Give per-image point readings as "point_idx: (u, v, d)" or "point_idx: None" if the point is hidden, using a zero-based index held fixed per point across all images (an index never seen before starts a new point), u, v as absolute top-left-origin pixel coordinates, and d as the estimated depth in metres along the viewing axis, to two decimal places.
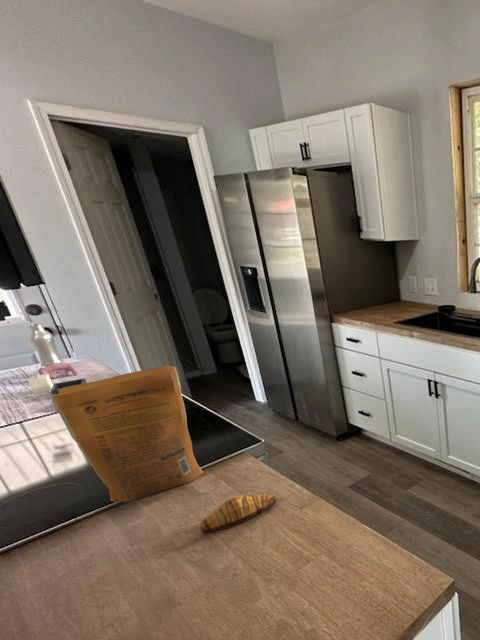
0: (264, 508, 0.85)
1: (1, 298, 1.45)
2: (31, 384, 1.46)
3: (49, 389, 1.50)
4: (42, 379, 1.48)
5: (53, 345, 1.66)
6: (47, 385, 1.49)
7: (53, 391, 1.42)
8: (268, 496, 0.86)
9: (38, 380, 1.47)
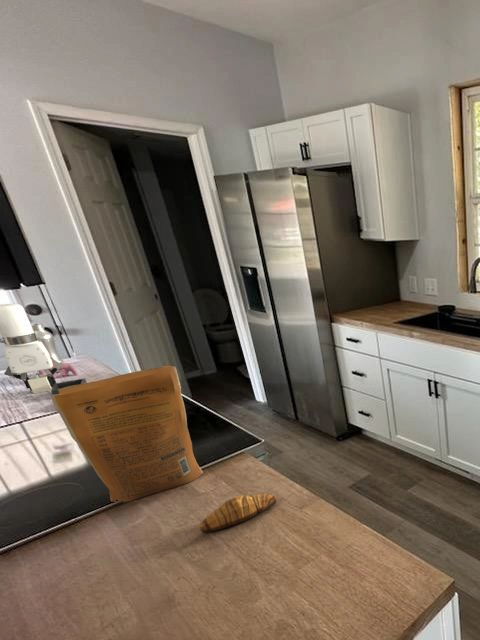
0: (264, 508, 0.85)
1: None
2: (31, 384, 1.46)
3: (49, 389, 1.50)
4: (42, 379, 1.48)
5: (53, 345, 1.66)
6: (47, 385, 1.49)
7: (53, 391, 1.42)
8: (268, 496, 0.86)
9: (38, 380, 1.47)
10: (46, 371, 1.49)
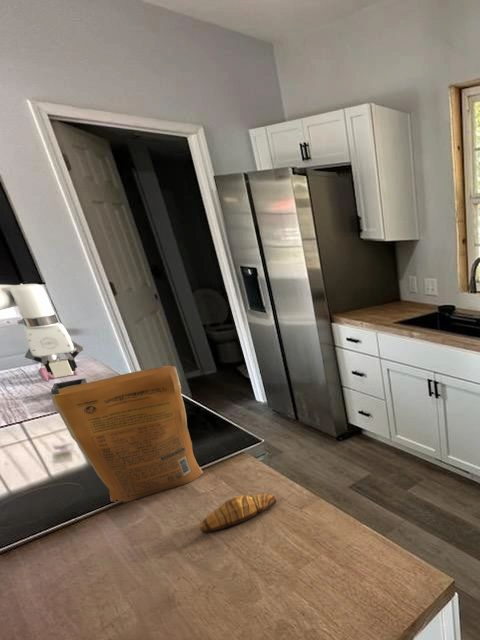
0: (264, 508, 0.85)
1: None
2: (52, 367, 1.42)
3: (70, 373, 1.45)
4: (63, 362, 1.43)
5: None
6: (68, 369, 1.44)
7: (53, 391, 1.42)
8: (268, 496, 0.86)
9: (59, 363, 1.43)
10: (67, 354, 1.44)
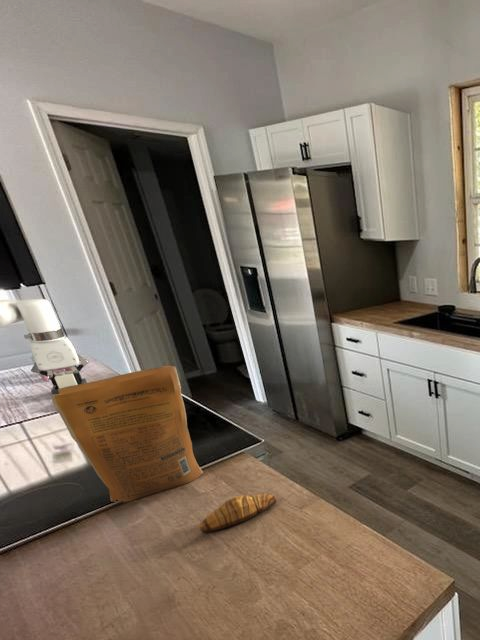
0: (264, 508, 0.85)
1: None
2: (58, 381, 1.44)
3: None
4: (69, 376, 1.45)
5: None
6: (73, 382, 1.46)
7: (53, 391, 1.42)
8: (268, 496, 0.86)
9: (65, 377, 1.44)
10: (72, 368, 1.46)
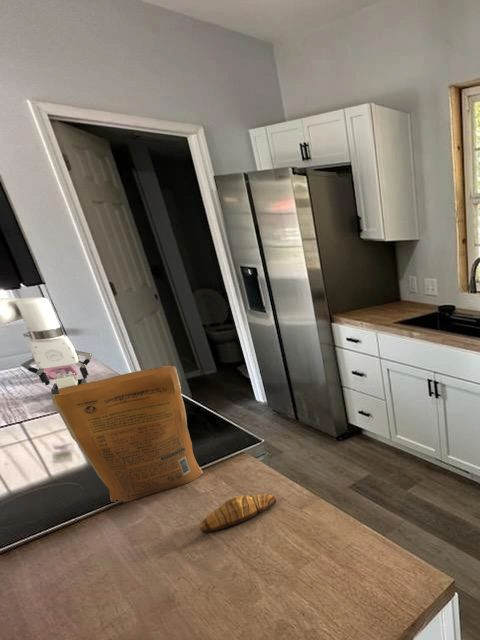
0: (264, 508, 0.85)
1: None
2: (58, 383, 1.44)
3: None
4: (69, 378, 1.45)
5: None
6: (74, 384, 1.46)
7: (53, 391, 1.42)
8: (268, 496, 0.86)
9: (65, 379, 1.45)
10: (77, 363, 1.47)
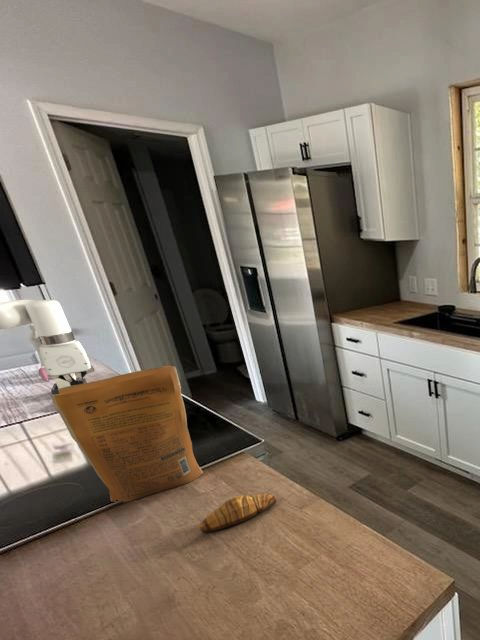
0: (264, 508, 0.85)
1: None
2: (58, 383, 1.44)
3: None
4: None
5: None
6: None
7: (53, 391, 1.42)
8: (268, 496, 0.86)
9: None
10: (77, 374, 1.37)
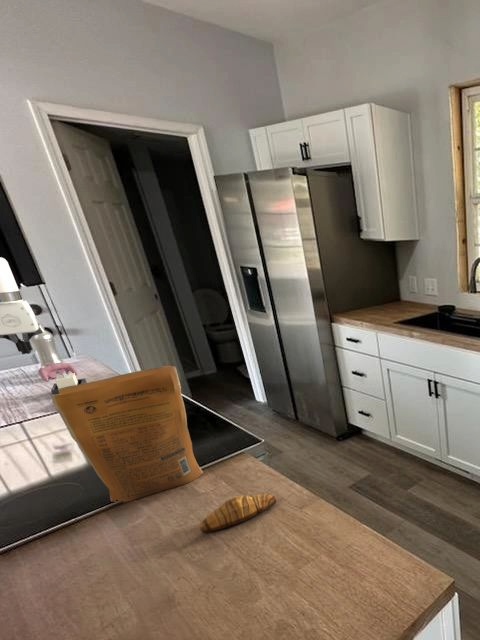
0: (264, 508, 0.85)
1: None
2: (58, 383, 1.44)
3: None
4: (69, 378, 1.45)
5: (53, 345, 1.66)
6: (74, 384, 1.46)
7: (53, 391, 1.42)
8: (268, 496, 0.86)
9: (65, 379, 1.45)
10: (24, 335, 1.34)
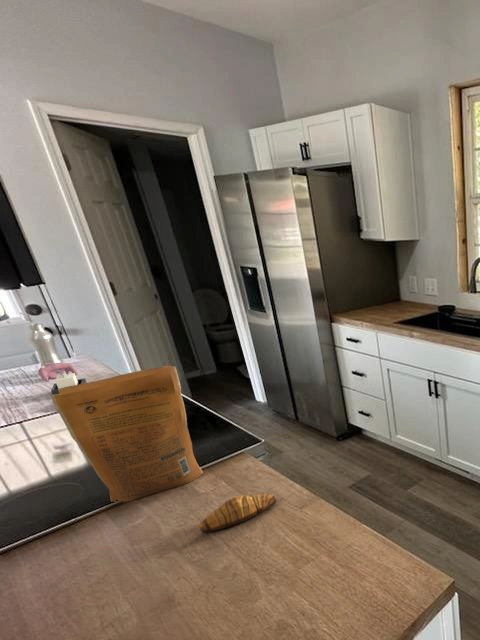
0: (264, 508, 0.85)
1: None
2: (58, 383, 1.44)
3: None
4: (69, 378, 1.45)
5: (53, 345, 1.66)
6: (74, 384, 1.46)
7: (53, 391, 1.42)
8: (268, 496, 0.86)
9: (65, 379, 1.45)
10: None
